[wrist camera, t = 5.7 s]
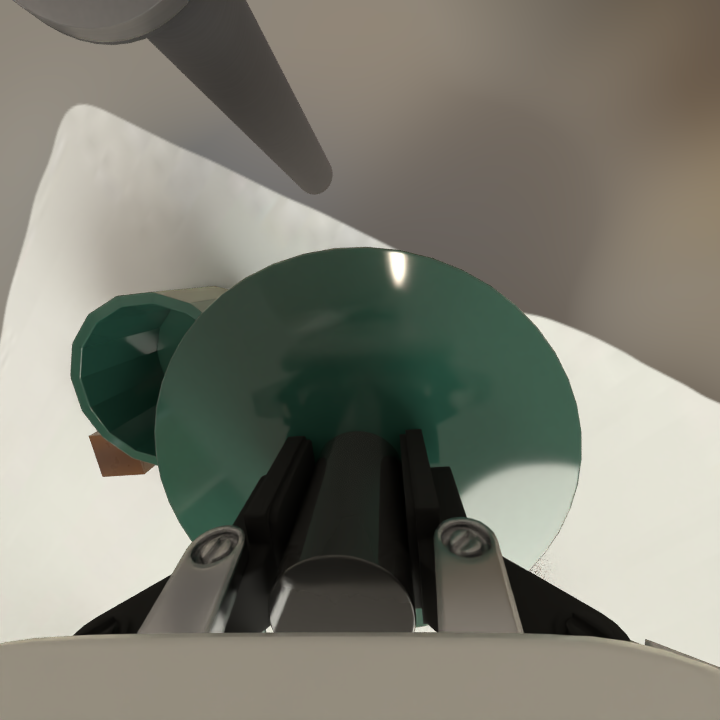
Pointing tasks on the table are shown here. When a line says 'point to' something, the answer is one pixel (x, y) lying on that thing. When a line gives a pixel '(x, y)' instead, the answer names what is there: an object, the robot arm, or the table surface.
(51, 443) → the table surface
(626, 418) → the table surface
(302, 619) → the lid
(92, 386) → the pot
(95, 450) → the block
